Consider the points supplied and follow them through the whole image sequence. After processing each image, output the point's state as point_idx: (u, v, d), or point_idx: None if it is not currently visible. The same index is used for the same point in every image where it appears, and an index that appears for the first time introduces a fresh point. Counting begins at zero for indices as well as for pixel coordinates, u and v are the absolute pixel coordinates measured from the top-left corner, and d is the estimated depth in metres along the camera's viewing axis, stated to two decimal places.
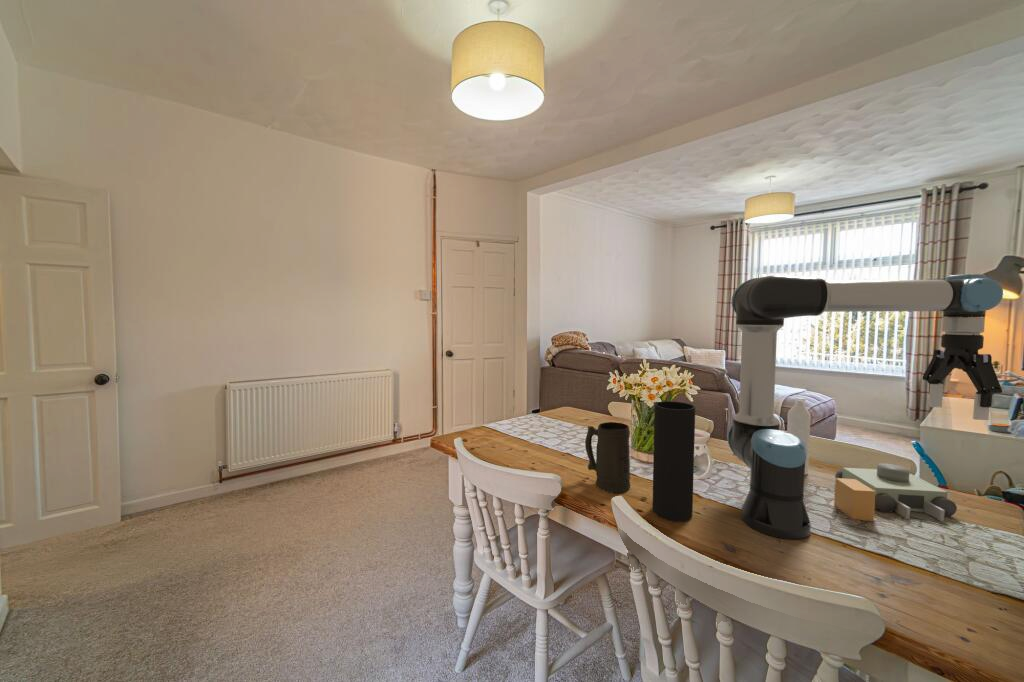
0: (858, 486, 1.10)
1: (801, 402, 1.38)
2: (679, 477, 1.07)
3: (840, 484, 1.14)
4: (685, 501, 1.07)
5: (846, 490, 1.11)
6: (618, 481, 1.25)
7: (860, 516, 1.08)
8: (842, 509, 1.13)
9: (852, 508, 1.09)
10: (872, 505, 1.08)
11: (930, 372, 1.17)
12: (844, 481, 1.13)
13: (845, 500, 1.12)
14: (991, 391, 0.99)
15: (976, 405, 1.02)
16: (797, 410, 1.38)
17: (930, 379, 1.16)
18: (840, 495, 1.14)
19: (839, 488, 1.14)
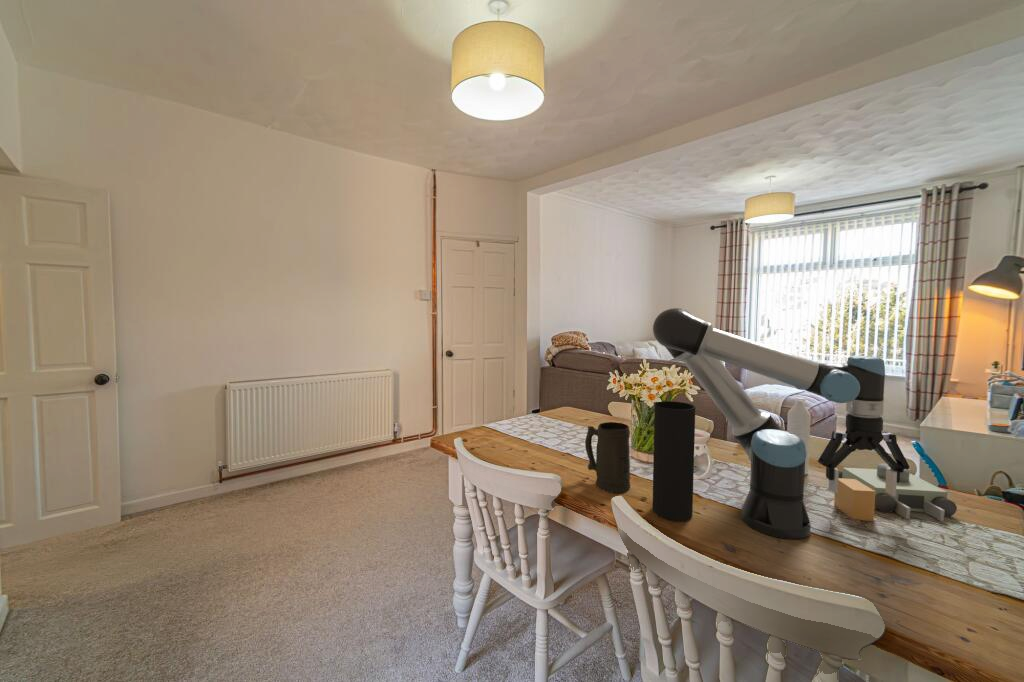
0: (858, 486, 1.10)
1: (801, 402, 1.38)
2: (679, 477, 1.07)
3: (840, 484, 1.14)
4: (685, 501, 1.07)
5: (846, 490, 1.11)
6: (618, 481, 1.25)
7: (860, 516, 1.08)
8: (842, 509, 1.13)
9: (852, 508, 1.09)
10: (872, 505, 1.08)
11: (894, 457, 1.09)
12: (844, 481, 1.13)
13: (845, 500, 1.12)
14: (818, 461, 1.12)
15: None
16: (797, 410, 1.38)
17: None
18: (840, 495, 1.14)
19: (839, 488, 1.14)
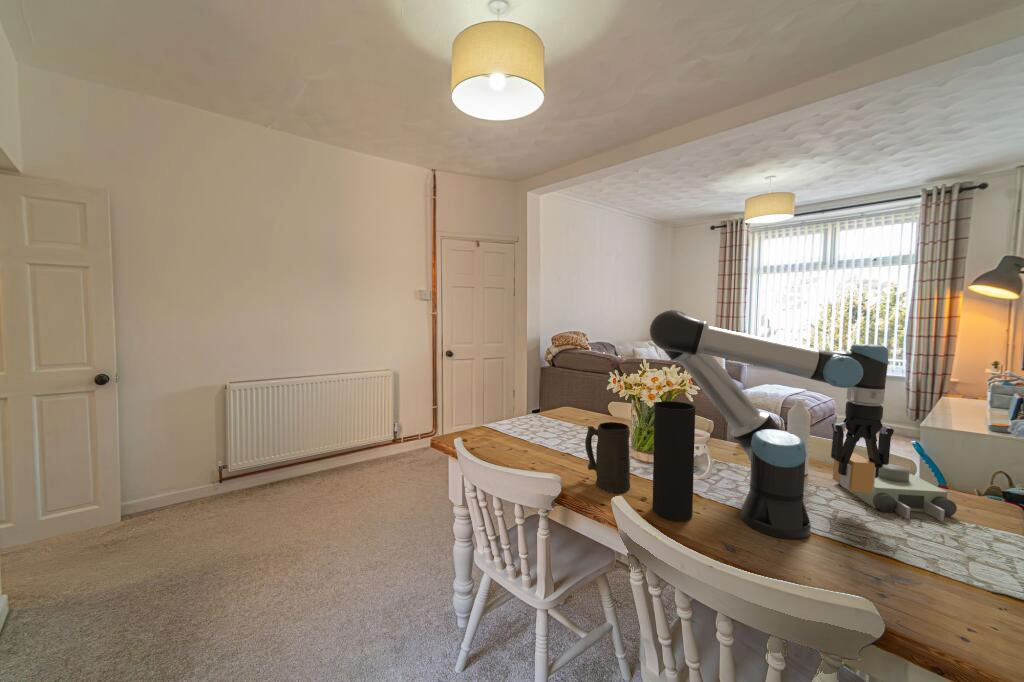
0: (857, 459, 1.10)
1: (801, 402, 1.38)
2: (679, 477, 1.07)
3: None
4: (685, 501, 1.07)
5: None
6: (618, 481, 1.25)
7: (859, 488, 1.08)
8: None
9: (851, 480, 1.08)
10: (871, 477, 1.07)
11: (878, 451, 1.09)
12: None
13: None
14: (831, 456, 1.11)
15: None
16: (797, 410, 1.38)
17: None
18: None
19: None
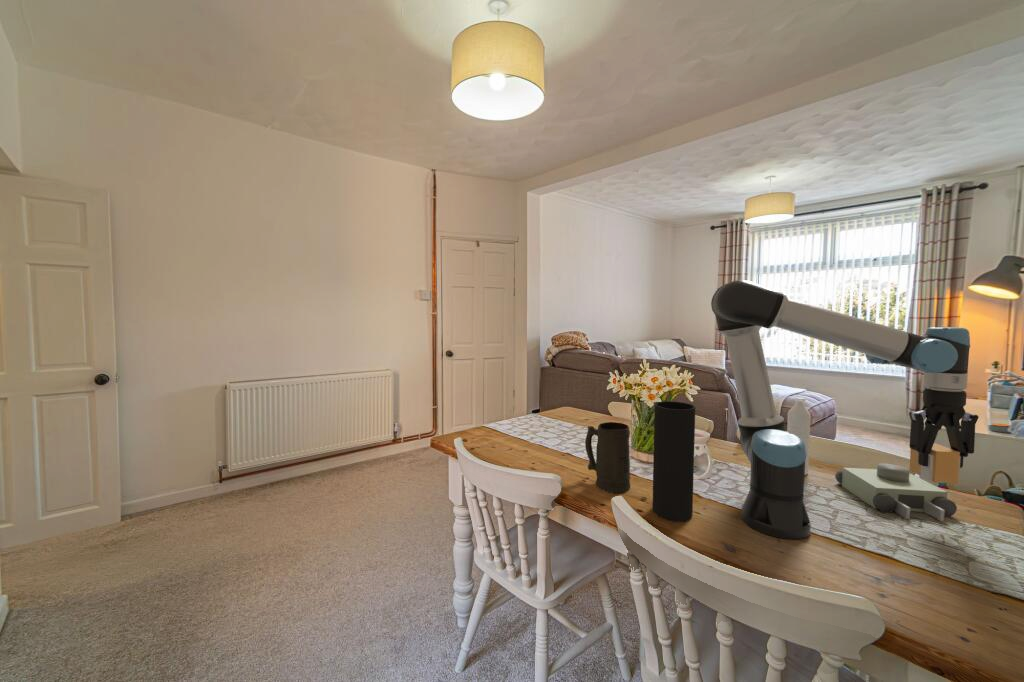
0: (938, 448, 1.04)
1: (801, 402, 1.38)
2: (679, 477, 1.07)
3: None
4: (685, 501, 1.07)
5: None
6: (618, 481, 1.25)
7: (943, 478, 1.02)
8: (920, 473, 1.07)
9: (935, 471, 1.03)
10: (956, 467, 1.02)
11: None
12: None
13: None
14: (910, 447, 1.06)
15: None
16: (797, 410, 1.38)
17: None
18: (917, 459, 1.08)
19: (916, 452, 1.08)
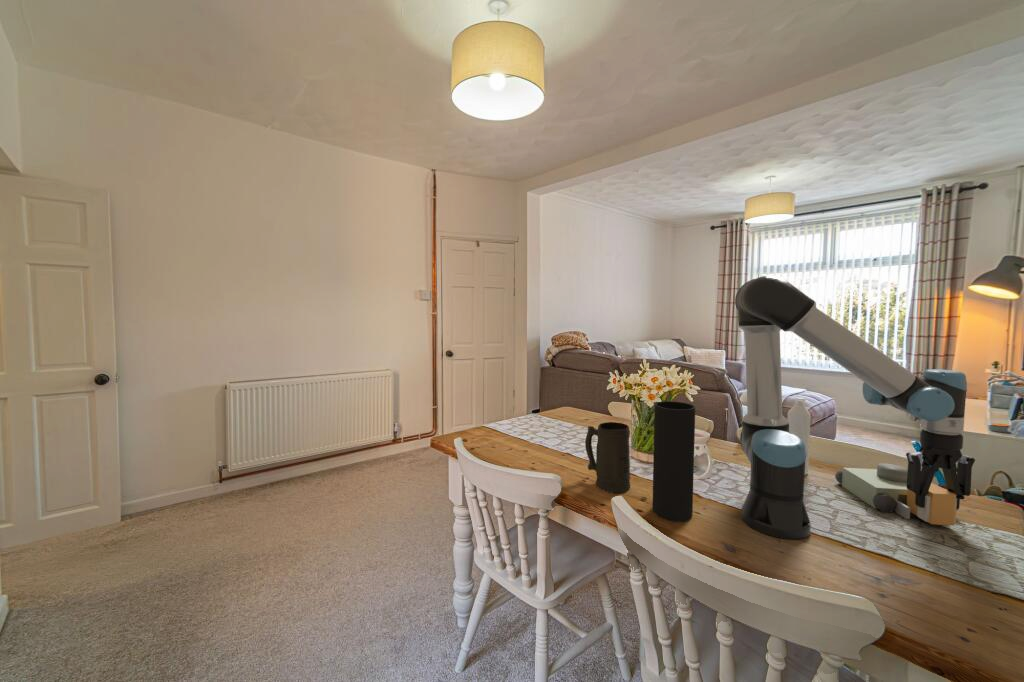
0: (935, 489, 1.05)
1: (801, 402, 1.38)
2: (679, 477, 1.07)
3: None
4: (685, 501, 1.07)
5: None
6: (618, 481, 1.25)
7: (940, 520, 1.03)
8: None
9: (931, 513, 1.03)
10: (953, 509, 1.02)
11: (957, 480, 1.04)
12: None
13: None
14: (907, 487, 1.06)
15: None
16: (797, 410, 1.38)
17: None
18: (914, 499, 1.08)
19: None
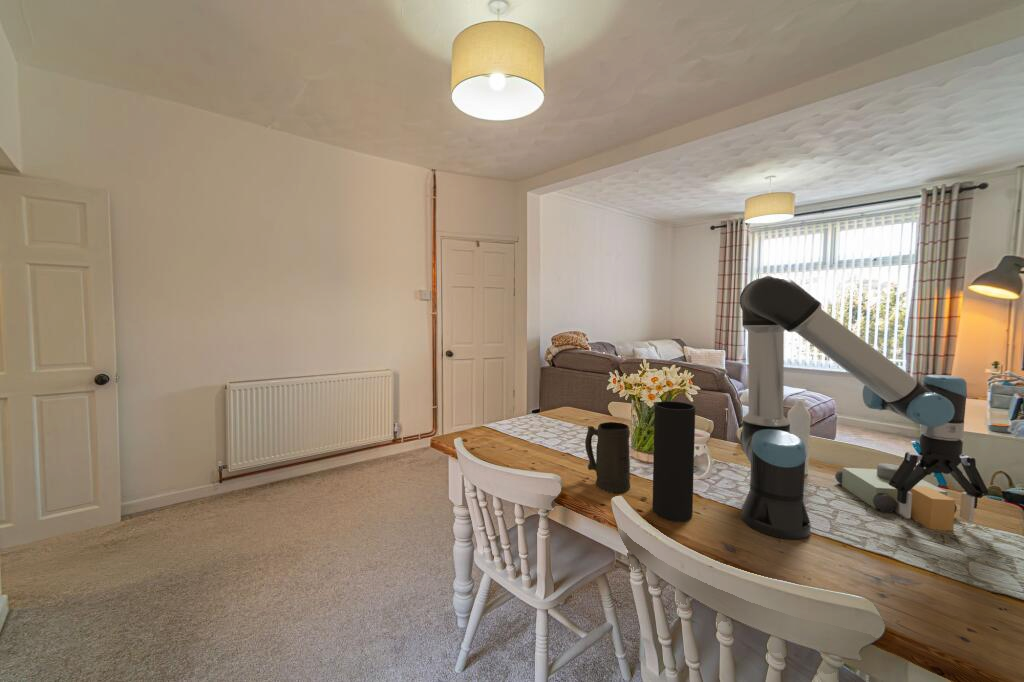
0: (934, 494, 1.05)
1: (801, 402, 1.38)
2: (679, 477, 1.07)
3: (913, 492, 1.09)
4: (685, 501, 1.07)
5: (921, 498, 1.06)
6: (618, 481, 1.25)
7: (938, 526, 1.03)
8: (916, 518, 1.08)
9: (930, 518, 1.03)
10: (951, 514, 1.03)
11: (970, 481, 1.04)
12: (917, 489, 1.08)
13: (920, 509, 1.07)
14: (889, 484, 1.07)
15: None
16: (797, 410, 1.38)
17: None
18: (913, 504, 1.09)
19: (912, 496, 1.09)
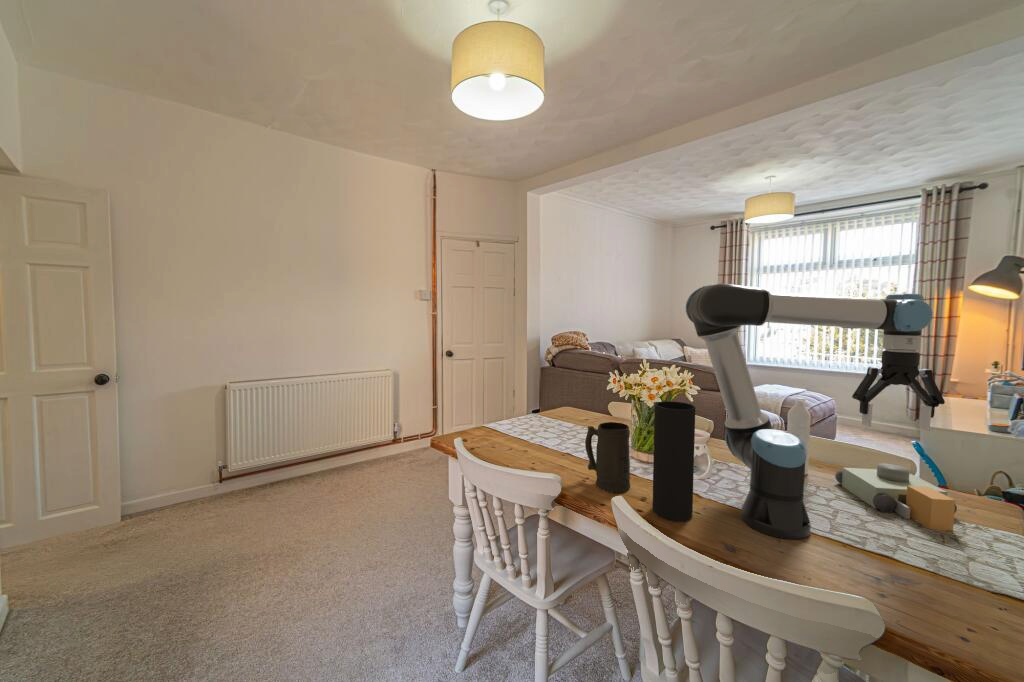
0: (934, 494, 1.05)
1: (801, 402, 1.38)
2: (679, 477, 1.07)
3: (913, 492, 1.09)
4: (685, 501, 1.07)
5: (921, 498, 1.06)
6: (618, 481, 1.25)
7: (938, 526, 1.03)
8: (916, 518, 1.08)
9: (930, 518, 1.03)
10: (951, 514, 1.03)
11: (929, 393, 1.11)
12: (917, 489, 1.08)
13: (920, 509, 1.07)
14: (852, 397, 1.15)
15: None
16: (797, 410, 1.38)
17: None
18: (913, 504, 1.09)
19: (912, 496, 1.09)
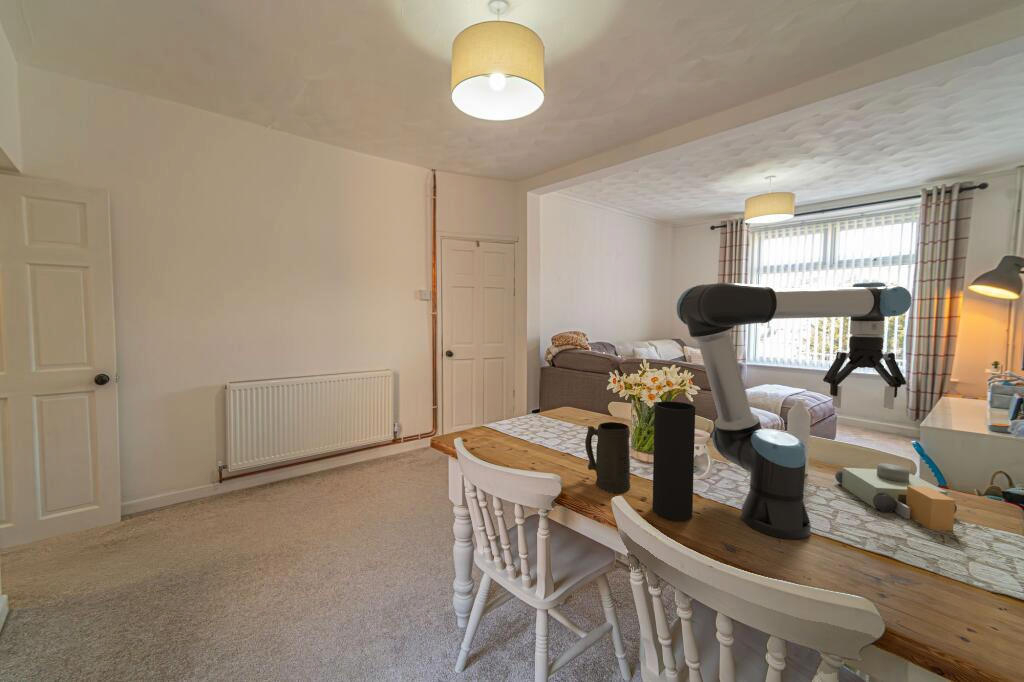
0: (934, 494, 1.05)
1: (801, 402, 1.38)
2: (679, 477, 1.07)
3: (913, 492, 1.09)
4: (685, 501, 1.07)
5: (921, 498, 1.06)
6: (618, 481, 1.25)
7: (938, 526, 1.03)
8: (916, 518, 1.08)
9: (930, 518, 1.03)
10: (951, 514, 1.03)
11: (892, 375, 1.20)
12: (917, 489, 1.08)
13: (920, 509, 1.07)
14: (823, 380, 1.23)
15: None
16: (797, 410, 1.38)
17: None
18: (913, 504, 1.09)
19: (912, 496, 1.09)
